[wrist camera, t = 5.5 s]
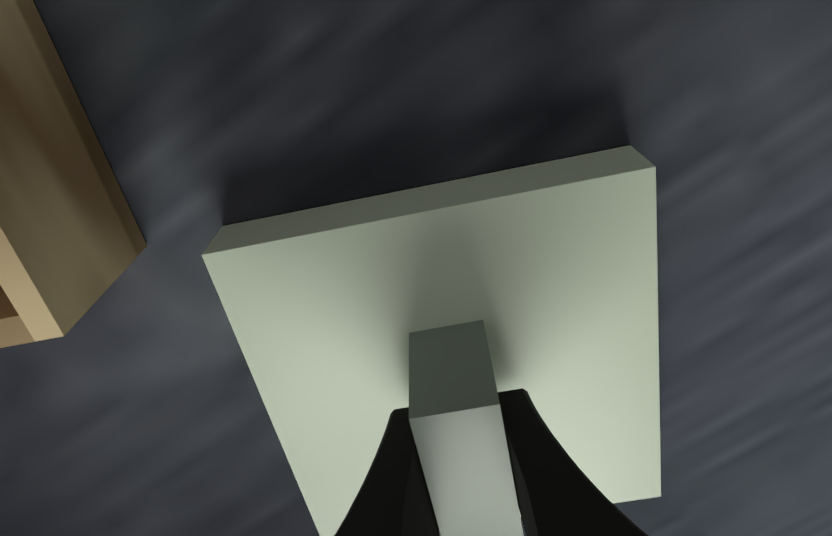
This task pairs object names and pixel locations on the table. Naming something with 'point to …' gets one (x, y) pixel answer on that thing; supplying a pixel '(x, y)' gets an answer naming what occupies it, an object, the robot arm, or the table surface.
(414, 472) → the robot arm
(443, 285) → the lid
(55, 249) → the box
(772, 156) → the table surface
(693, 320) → the table surface
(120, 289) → the table surface
